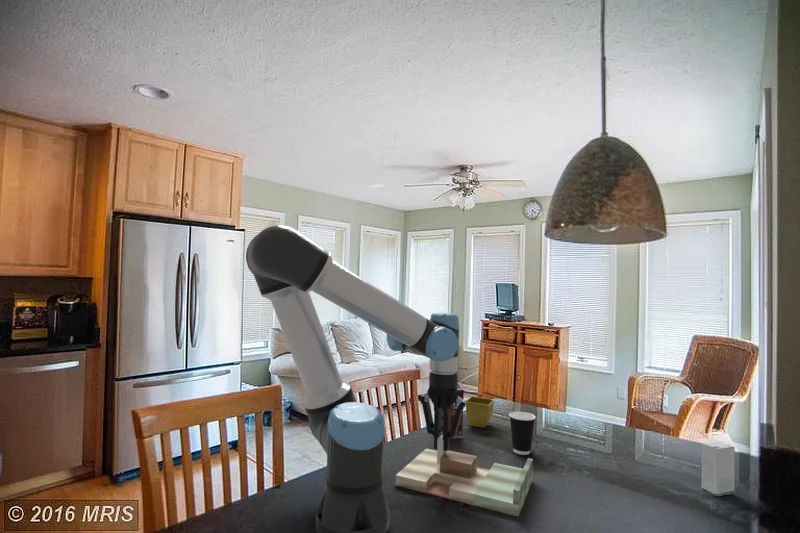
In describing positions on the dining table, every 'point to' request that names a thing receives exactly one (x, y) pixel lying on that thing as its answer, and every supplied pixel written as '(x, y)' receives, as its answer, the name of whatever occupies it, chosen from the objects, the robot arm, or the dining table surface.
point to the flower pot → (479, 411)
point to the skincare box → (718, 467)
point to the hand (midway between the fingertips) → (441, 462)
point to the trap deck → (470, 483)
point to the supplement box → (453, 411)
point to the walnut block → (458, 464)
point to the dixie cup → (522, 431)
